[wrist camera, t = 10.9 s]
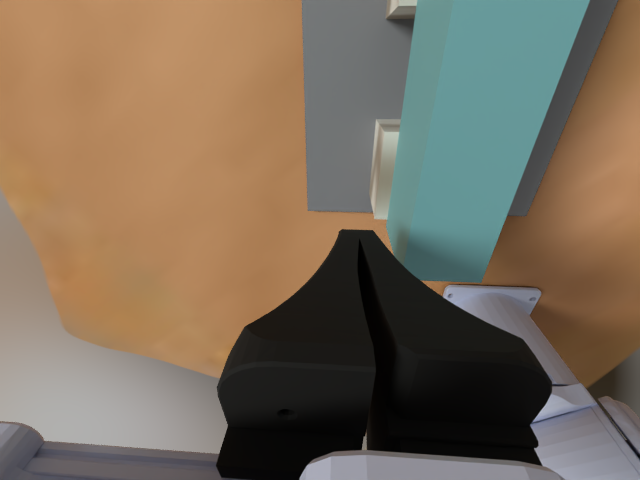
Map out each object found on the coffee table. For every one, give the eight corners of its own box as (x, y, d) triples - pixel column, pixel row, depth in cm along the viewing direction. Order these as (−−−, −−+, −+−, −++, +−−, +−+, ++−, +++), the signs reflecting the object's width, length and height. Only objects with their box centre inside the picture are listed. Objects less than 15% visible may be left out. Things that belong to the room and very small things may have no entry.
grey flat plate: (521, 212, 21) (526, 216, 21) (308, 207, 22) (307, 210, 21) (684, -182, 12) (700, -194, 11) (298, -163, 13) (296, -173, 12)
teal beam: (446, 228, 17) (481, 282, 13) (386, 226, 17) (400, 279, 13) (567, -226, 9) (784, -507, 4) (447, -219, 9) (545, -481, 5)
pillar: (439, 195, 20) (459, 221, 17) (369, 193, 20) (374, 218, 17) (457, 119, 18) (485, 132, 14) (376, 119, 18) (384, 131, 14)
